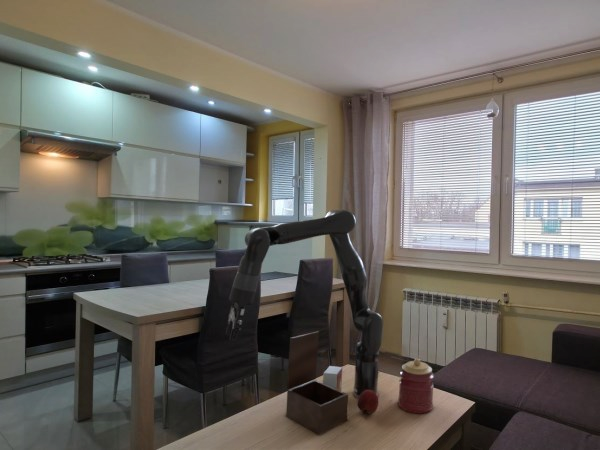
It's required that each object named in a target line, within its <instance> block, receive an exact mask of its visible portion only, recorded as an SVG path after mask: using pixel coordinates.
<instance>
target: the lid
mask: <svg viewBox="0 0 600 450" xmlns="http://www.w3.org/2000/svg"><path fill="white" fill-rule="evenodd" d="M319 338H320V331H319V330H317V331H313V332H309V333H305V334H300V335H297V336H292V337H290V338H289V339H290V340H289V349H288V350H289V351H288V364H287V365H288V366H287V377H286V378H287V380H286V389H287V390H290V389H292V388H295V387H298V386H300V385H303V384H306V383H308V382H311V381H314V380H316V379H317V369H318V368H317V367H318V352H319V341H320V340H319Z"/></svg>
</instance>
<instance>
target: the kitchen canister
mask: <svg viewBox="0 0 600 450" xmlns="http://www.w3.org/2000/svg"><path fill="white" fill-rule="evenodd" d="M399 376H400V379H399V381H398V382H399V383H398V384H399V385H398V387H399V388H398V397H397V398H398V400H397V401H398V406H399V407H400V408H401V409H402V410H404V411H406V412H407V413H408V412H409V413H412V414H424V413H428V412H430V411H431V410H432V408H433V405H434V397H433V396H434V386H435V385H434V383H433V380H434V378H435V374H434V373H433V368H432V367H431V365H429V364H428V363H426V362H424V361H421V359H420V358H415V359H414V360H410V361H407V362H406V363H404V364H402V366H401V369H400V371H399Z"/></svg>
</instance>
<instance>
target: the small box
mask: <svg viewBox="0 0 600 450" xmlns="http://www.w3.org/2000/svg"><path fill="white" fill-rule="evenodd" d="M322 383H323V384H325V385H328V386H330V387H332V388H335V389H337V390H339V391H342V384H343V366H334V365H329V366H328V367H327V369H326V370H325V371H324V372H323V373H322Z"/></svg>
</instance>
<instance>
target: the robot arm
mask: <svg viewBox="0 0 600 450" xmlns="http://www.w3.org/2000/svg"><path fill="white" fill-rule="evenodd" d="M356 223H357V222H356V217H355V215H354V214H353V213H352V212H351V211H349V210H347V209H332V210H330V211H328V212H327V213H326V215H325V217H320V218H312V219H303V220H295V221H289V222H284V223H279V224H276V225H273V226H264V227H257V228H253V229H250V230H249V231H247V232H246V234H245V236H244V243H245V245H246V246H247V247H246V249H245V252H244V255H242V257H241V259H240V261H239V264H238V266H237V267H238V268H237V270H236V271H237V272H236V275H234V276H235V277H234V279H233V283H232V286H231V289H230V292H229V293H230V294H229V298H228V300H229V301H230V302H232V303H231V307H230V310H229V313H228V316H227V326H226V329H225V330H226V331H225V335H226V336H229V340H228V341H230V342H233V343H236V342H237V341H238V339H239V334H240V331H241V330H243V328H244V324H245V320H246V316H247V312H248V309H247V308H246V305H248V306H251V305H253V303H254V299H255V296H256V291H257V288H258V284H259V278H260V275H261V271H262V266H263V262H264V260H265V258H266V256H267V254H268V252H269V249H270V247H271V246H272V247H273V246H275V245H286V244H291V243H295V242H299V241H303V240H308V239H311V238H316V237H321V236H329V239H330V240H331V243H332V246H333V248H334V252H335V256H336V260H337V263H338V267H339V271H340V275H341V278H342V281H343V284H344V287H345V291H346V294H347V296H348V301H349V305H350V311H351V316H352V322H353V325H354V327H355V329H356V330H357V331H358V332H360V333H362V335H361V336H362V337H361V341H359V342H357V343H356V345H355V365H354V382H353V383H354V384H353V385H354V386H353V396H354V397H355V398H356V399H358V398H359V396H360V395H361V393H362V392H363V391H365V390H372V391H374V392H375V393H376V395H377V396H378V385H379V383H378V382H379V363H380V349H381V345H382V343H383V342H382V341H383V331H384V319H383V317H382V316H381V314H380V313H378V312H375V311H373V310H371V309H370V307H369V304H368V300H367V298H366V297H367V296H366V290H367V286H368V285H367V283H368V277H367V272H366V269H365V265H364V262H363V260H362V258H361V256H360V254H359V253H358V252H357V250H356V249H355V247H354V246H353V243H352V241H351V238H350V235H349V233H351V232H352V231H353V230H354V229H355V227H356Z"/></svg>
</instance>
